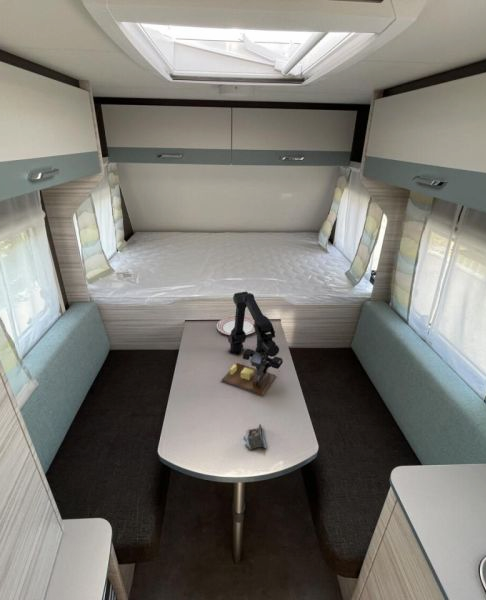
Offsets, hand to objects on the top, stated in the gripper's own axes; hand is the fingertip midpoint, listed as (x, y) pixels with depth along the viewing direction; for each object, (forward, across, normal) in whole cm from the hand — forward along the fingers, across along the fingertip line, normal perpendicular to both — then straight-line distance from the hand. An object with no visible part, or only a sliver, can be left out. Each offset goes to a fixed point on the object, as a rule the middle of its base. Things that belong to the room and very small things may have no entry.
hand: (261, 372), depth 158 cm
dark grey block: (+4, 0, 0) cm, 5 cm away
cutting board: (+6, -7, 0) cm, 9 cm away
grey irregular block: (+6, +12, -33) cm, 36 cm away
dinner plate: (+7, -37, +44) cm, 58 cm away
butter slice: (+5, -16, 0) cm, 17 cm away
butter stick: (+5, -8, 0) cm, 9 cm away
